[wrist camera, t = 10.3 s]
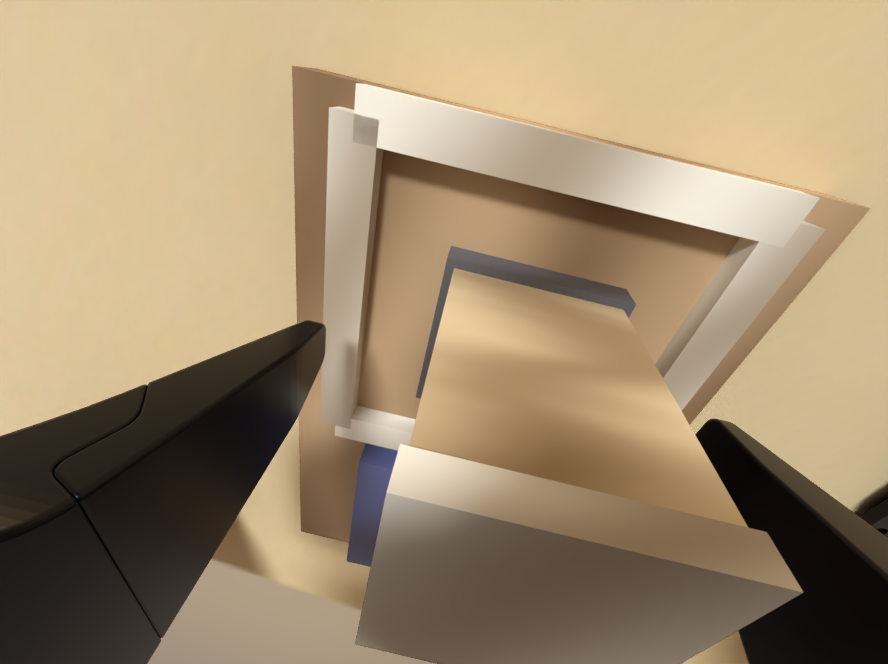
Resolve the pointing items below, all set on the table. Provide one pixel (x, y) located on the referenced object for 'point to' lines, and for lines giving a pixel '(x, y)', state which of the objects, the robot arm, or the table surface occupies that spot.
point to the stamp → (555, 492)
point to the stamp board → (517, 239)
